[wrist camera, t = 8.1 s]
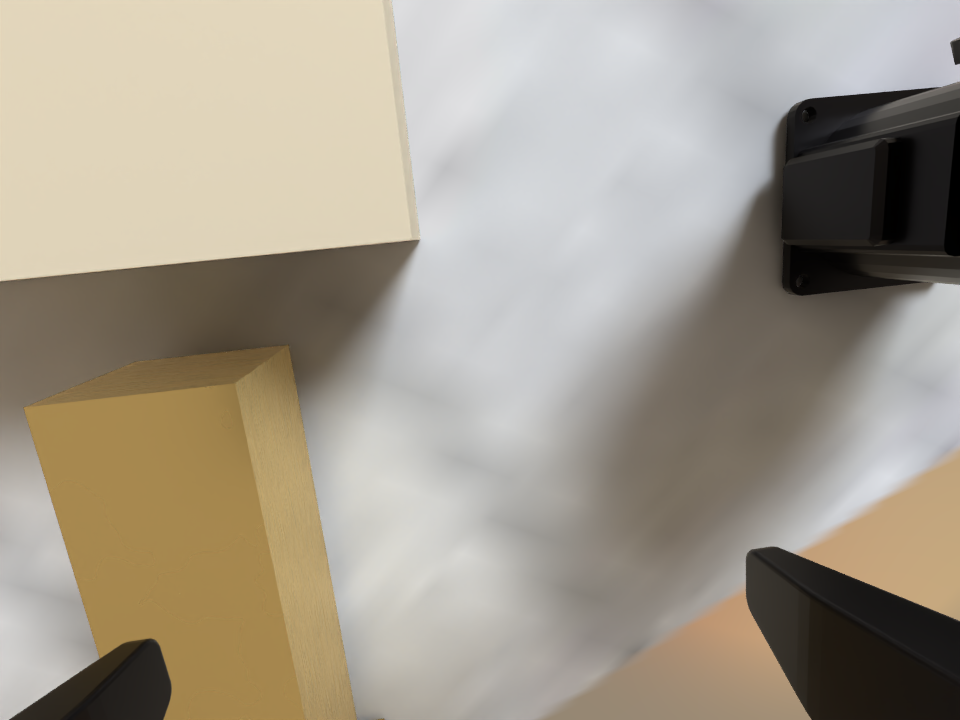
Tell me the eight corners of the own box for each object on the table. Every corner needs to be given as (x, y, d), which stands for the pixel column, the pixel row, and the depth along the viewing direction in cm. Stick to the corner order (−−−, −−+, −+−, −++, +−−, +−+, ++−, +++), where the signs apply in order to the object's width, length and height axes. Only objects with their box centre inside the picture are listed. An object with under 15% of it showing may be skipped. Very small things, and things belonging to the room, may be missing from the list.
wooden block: (319, 336, 18) (264, 383, 12) (388, 742, 22) (371, 928, 16) (126, 357, 18) (-28, 417, 12) (230, 766, 22) (153, 967, 16)
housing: (378, -105, 16) (336, -376, 9) (420, 239, 18) (412, 239, 11) (-122, -74, 15) (-607, -348, 8) (-13, 283, 17) (-318, 312, 10)
